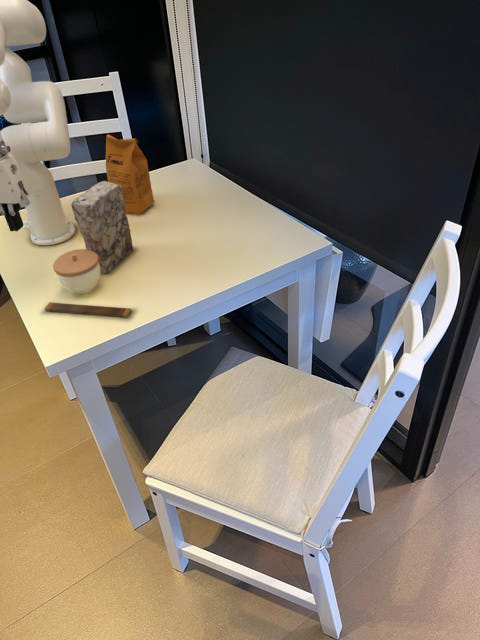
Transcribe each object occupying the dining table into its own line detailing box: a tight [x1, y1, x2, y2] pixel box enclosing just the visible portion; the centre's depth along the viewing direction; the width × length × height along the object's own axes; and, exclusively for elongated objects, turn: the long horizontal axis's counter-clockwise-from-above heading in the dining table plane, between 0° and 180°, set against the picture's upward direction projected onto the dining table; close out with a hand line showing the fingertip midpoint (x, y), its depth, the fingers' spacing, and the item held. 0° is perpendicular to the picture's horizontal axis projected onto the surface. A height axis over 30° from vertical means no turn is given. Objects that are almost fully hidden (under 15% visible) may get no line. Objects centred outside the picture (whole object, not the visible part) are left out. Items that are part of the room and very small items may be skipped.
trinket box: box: [52, 248, 102, 295], centre depth 127 cm, size 11×11×9 cm
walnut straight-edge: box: [44, 302, 133, 319], centre depth 121 cm, size 21×2×1 cm, turn 78°
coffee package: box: [105, 133, 155, 215], centre depth 155 cm, size 10×12×22 cm
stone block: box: [70, 180, 134, 274], centre depth 132 cm, size 13×7×20 cm, turn 161°
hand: (17, 228), depth 121 cm, fingers closed
